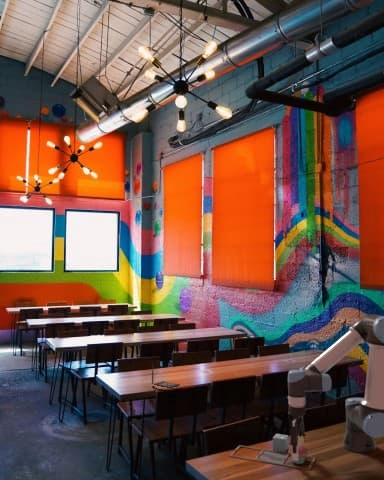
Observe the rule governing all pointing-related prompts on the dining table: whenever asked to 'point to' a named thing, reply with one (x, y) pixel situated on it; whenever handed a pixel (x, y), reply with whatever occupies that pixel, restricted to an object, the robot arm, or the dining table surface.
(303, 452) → the cupcake
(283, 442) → the grey cube
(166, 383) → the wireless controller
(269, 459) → the board
